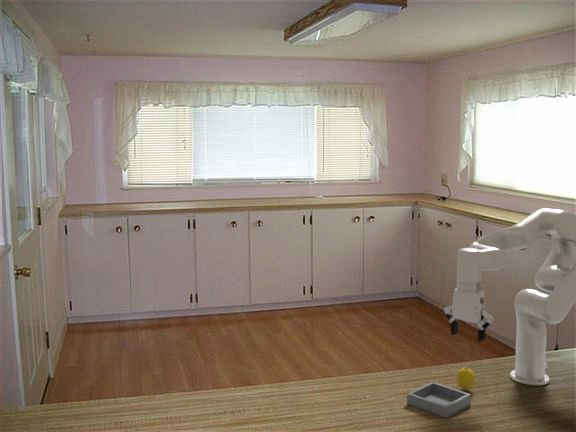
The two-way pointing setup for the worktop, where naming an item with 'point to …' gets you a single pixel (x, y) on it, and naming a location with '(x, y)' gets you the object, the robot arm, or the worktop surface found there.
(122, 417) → the worktop surface
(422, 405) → the box
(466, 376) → the lemon
